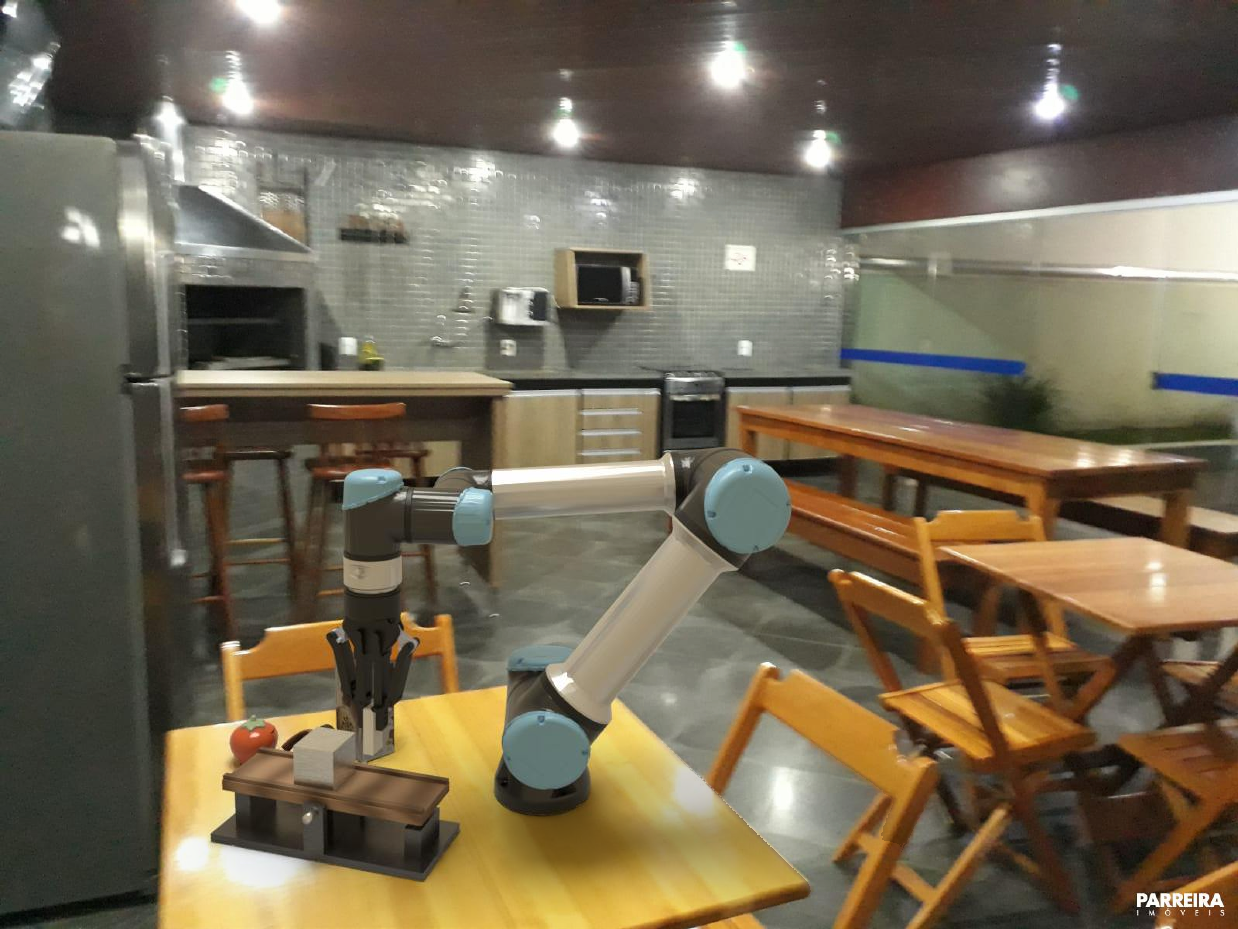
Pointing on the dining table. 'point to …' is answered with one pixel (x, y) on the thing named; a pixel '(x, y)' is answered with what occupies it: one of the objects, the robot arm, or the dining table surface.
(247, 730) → the tomato
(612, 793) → the dining table surface
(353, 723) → the coffee box
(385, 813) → the seesaw beam
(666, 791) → the dining table surface
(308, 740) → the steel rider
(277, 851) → the pivot stand
